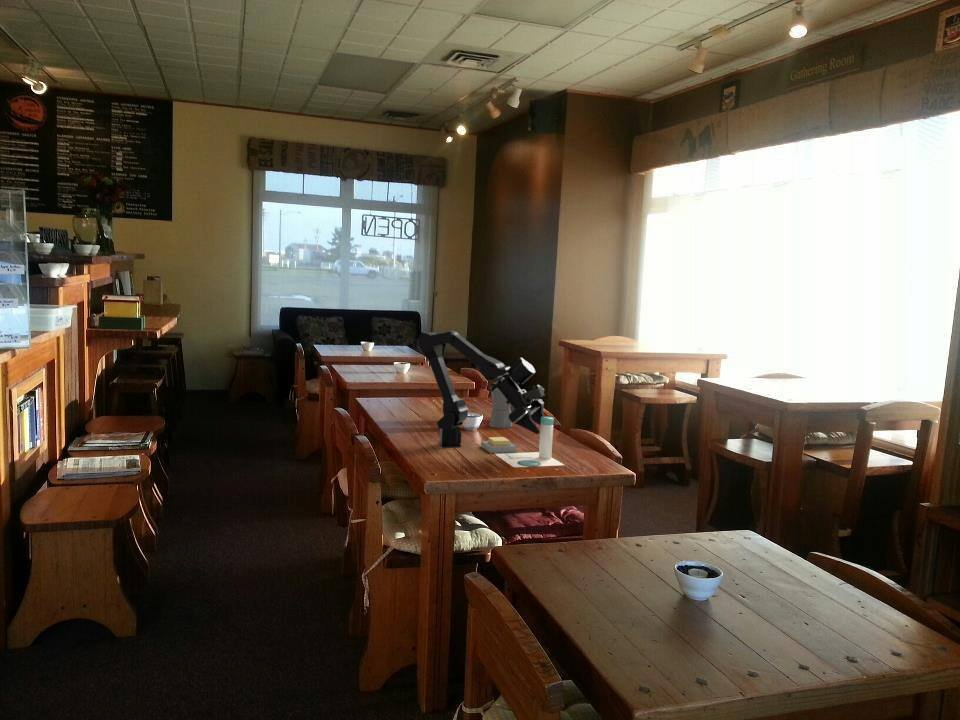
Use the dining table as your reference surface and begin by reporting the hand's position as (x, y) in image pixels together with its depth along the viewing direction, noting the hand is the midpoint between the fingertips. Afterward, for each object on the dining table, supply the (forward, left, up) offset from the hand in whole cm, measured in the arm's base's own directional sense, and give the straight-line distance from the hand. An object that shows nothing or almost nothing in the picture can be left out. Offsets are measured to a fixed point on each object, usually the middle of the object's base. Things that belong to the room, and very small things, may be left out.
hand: (543, 430), depth 244 cm
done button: (-10, +12, -7) cm, 18 cm away
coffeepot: (+6, +51, -9) cm, 52 cm away
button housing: (-10, +12, -9) cm, 18 cm away
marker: (+1, -1, -9) cm, 9 cm away
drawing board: (-5, -2, -9) cm, 11 cm away
